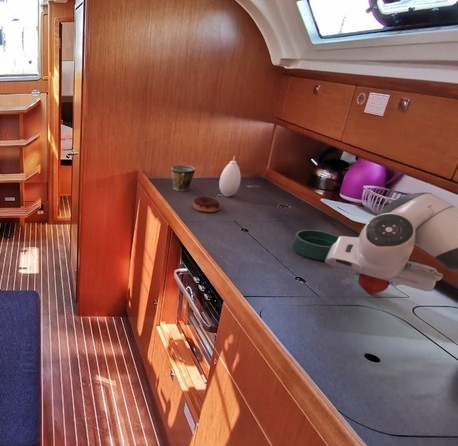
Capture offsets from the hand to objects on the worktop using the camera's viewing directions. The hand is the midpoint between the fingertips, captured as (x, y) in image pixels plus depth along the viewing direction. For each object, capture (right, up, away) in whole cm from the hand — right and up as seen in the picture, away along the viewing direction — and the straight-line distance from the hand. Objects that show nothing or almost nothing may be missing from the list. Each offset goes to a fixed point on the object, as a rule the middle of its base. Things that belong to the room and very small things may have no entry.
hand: (374, 277), depth 101 cm
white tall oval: (0, +26, +70) cm, 75 cm away
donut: (-15, +20, +58) cm, 63 cm away
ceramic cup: (-16, +29, +80) cm, 86 cm away
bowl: (+2, +5, +22) cm, 22 cm away
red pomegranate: (0, -4, +1) cm, 5 cm away
